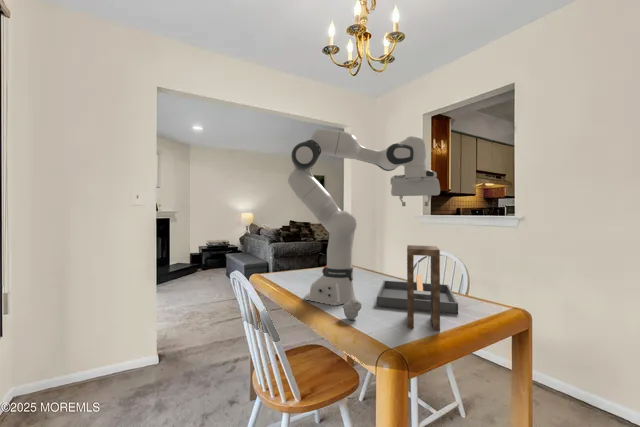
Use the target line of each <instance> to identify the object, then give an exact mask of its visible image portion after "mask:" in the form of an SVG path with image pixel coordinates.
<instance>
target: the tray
mask: <svg viewBox="0 0 640 427" xmlns="http://www.w3.org/2000/svg"><path fill="white" fill-rule="evenodd" d="M422 283H423V291H429V292H431V283H429V282H428V283H426V282H422ZM414 290H415V291H417V282H414ZM376 307H380V308H390V309H400V310H401V309H402V310H407V281H396V280H383V282H382V284H381V286H380V289H379V291H378V293H377V296H376ZM414 311H420V312H421V311H423V312H431V301H430V300H418V299H414ZM441 313H445V314H452V315H455V314H456V315H458V314H459V302H458V301H457V299H456V297H455V295H454V293H453V291H452V289H451V288H450V286H449V284H441V283H440V314H441Z"/></svg>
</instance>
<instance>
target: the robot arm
mask: <svg viewBox="0 0 640 427" xmlns="http://www.w3.org/2000/svg"><path fill="white" fill-rule="evenodd" d="M310 138H311V139H308V140H306V141H303V142H302V141H301V142H299V143H297V144H295V146H294V147H293V148H292V150H291V156H290V157H291V160H292V161H291V162H292V164H293V166H294V167H293V168H294V169H293V170H292V172H290V174H289V175H288V179H287V182H288V185H289V186H290V188H291V190H292V191H293V192H294V194H295V195H296V197H297V198H298V199H299V200H300V201H301V202H302V203H303V204H304V205H305V206H306V207H307V209H308V210H309V211H310V212H311V213H312V214H313V215H314V217H315V218H316V220H317V221H318V222H319V223H320V224H321V225H322V226H323V228H324V229H325V230H326V231H327V232H328V235H329V236H328V243H327V248H326V265H325V266H324V267H323V268H322V270H321V273H322V276H319V278H317V279H316V280H315V281H313V283H312V284H311V286H310V287H309V288H310V289H309V292H308V293H307V294H305V296H304V300H305V299H307V300H311V301H316V302H315V303H317V302H320V303H319V304H323V303H325V304H324V305H329V304H330V306H338V305H339V306H340V305H344V304H345V303H347V302H349V301H351V300H352V299H356V298H357V297H356V295H355V291H354V283H353V280H354V268H353V246H354V245H353V244H354V238H355V232H356V229H357V224H358V223H357V220H356V218H355V217H354V215H353V214H352V213H351V212H348V211H347V210H346V211H345V210H341V209H340V207H339V206H338V205H337V203H336V201H335V199H333V197H332V195H331V194H330V193H329V192H328V191H327V190H326V188H324V187H323V185H322V184H321V183H320V182H319V181H318V179H316V177H315V176H314V175H313V173H312V170H313V168H314V167H315V166H316V164H317V162H318V159H319V158H320V157H322V156H331V157H334V158H335V157H336V158H340V159H349V160H356V161H360V162H363V163H368V164H371V165H372V164H373V165H375V166H377V167H379V168H380V169H382V171H386V172H392V171H394V170H396V169H397V168H398V167H400V166H403V167H404V169H403V170H404V174H399V175H397V174H396V175H393V176H392V177H391V178H390V185H391V190H390V192H391V193H390V194H391V196H393V197H399V198H398V199H399V200H400V202H401V207H406V206H407V205H406V202H405V201H403V197H412V196H413V197H415V196H418V197H419V196H420V197H421V196H423V197H424V196H426V197H427V201H424V207H429V203H430V201H431V199H432V196H439V195H440V194H441V186H440V181H439V179H438V178H437V177H438V174H437V172H436V171H433V170H429V169H426V168H427V166H426V162H425V161H426V156H427V155H426V143H425V140H424V139H423V138H422V137H420V136H415V135H413V136H411V135H410V136H408V137H406V138H405V139H404V140H401V141H399V142H396V143H393V144H392V143H391V145H389V146H388V147H386V148H385V149H383V150H377V149H372V148H370V147H369V148H368V147H364V146H362V145H361V144H360V143H359V142H358V139H357V137H356V136H355V135H353V134H352V133H349V132H346V131H342V130H338V129H330V128H329V129H327V128H318V129H316V130H314V131H313V133H312V135H311V137H310ZM356 300H357V299H356ZM311 301H310V302H311Z"/></svg>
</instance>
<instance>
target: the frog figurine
mask: <svg viewBox="0 0 640 427" xmlns="http://www.w3.org/2000/svg"><path fill="white" fill-rule="evenodd" d="M362 305H363V304H362V303H361V301H359V300H358V299H352V300H351V301H349V302H347V303H345V304H342V306H341V308H342V309H343V313H344V317H346V319H347V320H350V321H351V320H352V321H353V320H355V319H356V318H357V317H358V316H359V311H360V310H361V309H362Z"/></svg>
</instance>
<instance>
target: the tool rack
mask: <svg viewBox="0 0 640 427" xmlns="http://www.w3.org/2000/svg"><path fill="white" fill-rule="evenodd" d="M440 252H441V249H440V248H439V247H438V246H437V245H416V244H415V245H410V244H409V245H408V244H407V247H406V260H407V261H406V270H407V271H406V274H407V275H406V278H407V279H406V280H407V281H406V282H407V309H406V312H407V313H406V314H407V315H406V316H407V317H406V318H407V320H406V321H407V324H406V325H407V328H410V329H414V328H415V327H414V326H415V322H414V320H415V318H414V317H415V315H414V314H415V310H414V283H415V282H414V278H415V277H414V276H415V275H414V271H415V270H414V269H415V268H414V260H415V259H414V256H427V257H428V256H429V257H430V284H431V311H430V319H431V326H432V330H433V331H434V332H435V331H437V332H440V331H441V312H440V284H441V277H440V276H441V271H440V270H441V259H440V258H441V255H440V254H441V253H440Z"/></svg>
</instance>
